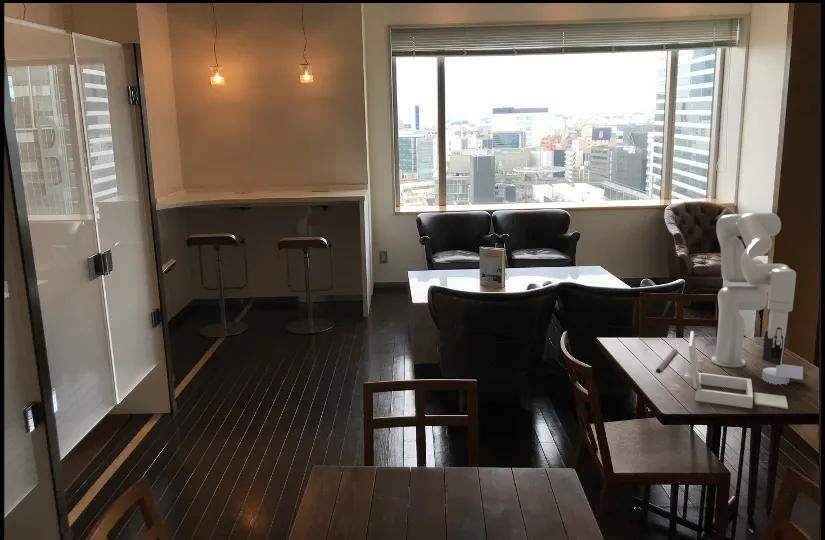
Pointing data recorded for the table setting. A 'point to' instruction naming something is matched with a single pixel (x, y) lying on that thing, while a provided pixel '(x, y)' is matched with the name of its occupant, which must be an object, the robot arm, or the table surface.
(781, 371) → the wedge on round base
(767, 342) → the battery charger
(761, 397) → the pad
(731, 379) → the white bent frame
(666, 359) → the metal rod
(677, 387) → the table surface
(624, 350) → the table surface
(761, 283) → the robot arm
